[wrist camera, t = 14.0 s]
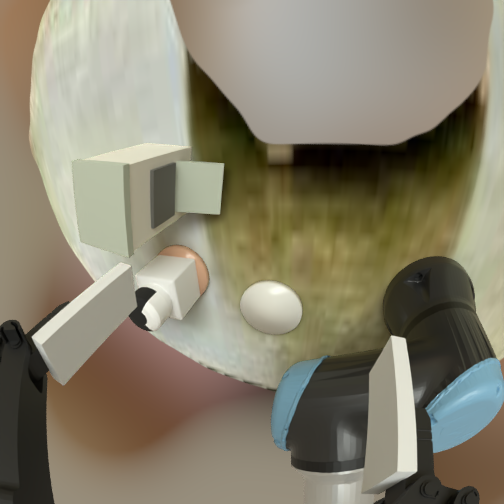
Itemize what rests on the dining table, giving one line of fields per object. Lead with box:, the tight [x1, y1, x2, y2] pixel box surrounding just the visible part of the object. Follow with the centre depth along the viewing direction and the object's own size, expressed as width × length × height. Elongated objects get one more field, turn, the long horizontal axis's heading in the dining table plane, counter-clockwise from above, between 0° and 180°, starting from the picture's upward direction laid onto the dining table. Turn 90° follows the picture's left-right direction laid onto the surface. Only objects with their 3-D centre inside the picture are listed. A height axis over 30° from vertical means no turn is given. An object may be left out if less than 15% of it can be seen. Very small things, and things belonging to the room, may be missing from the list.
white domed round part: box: [240, 280, 303, 334], centre depth 45 cm, size 10×10×1 cm
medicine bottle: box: [129, 255, 200, 331], centre depth 42 cm, size 7×7×12 cm
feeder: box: [72, 143, 224, 258], centre depth 34 cm, size 14×10×15 cm
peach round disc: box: [157, 245, 209, 296], centre depth 48 cm, size 10×10×1 cm
